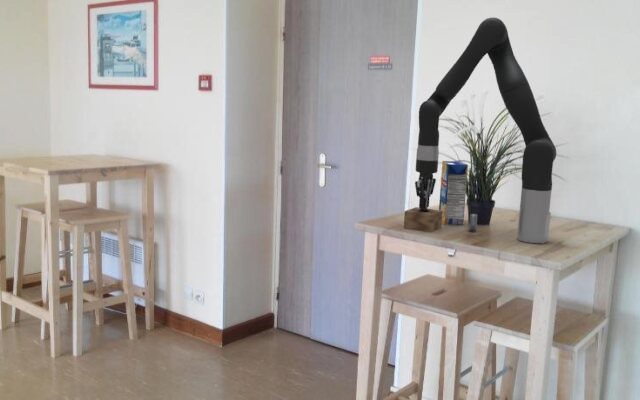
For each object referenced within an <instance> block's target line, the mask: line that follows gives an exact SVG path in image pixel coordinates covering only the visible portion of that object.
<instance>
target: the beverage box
mask: <svg viewBox="0 0 640 400" xmlns="http://www.w3.org/2000/svg"><path fill="white" fill-rule="evenodd" d="M441 164H442V165H441V177H440V189H439V190H440V191H439V206H438V210H440V211H442V225H443V224H444V225H445V226H446V225H447V226H449V225H450V226H451V225H452V226H464V221H465V206H466V194H467V181H468V168H469V165H468V164H466V163H464V162H463V161H452V160H451V161H450V160H442V163H441Z"/></svg>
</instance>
